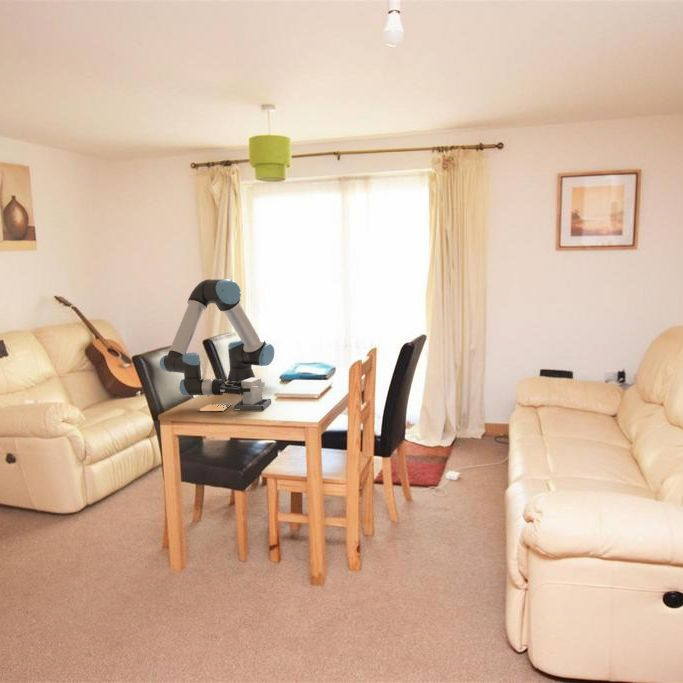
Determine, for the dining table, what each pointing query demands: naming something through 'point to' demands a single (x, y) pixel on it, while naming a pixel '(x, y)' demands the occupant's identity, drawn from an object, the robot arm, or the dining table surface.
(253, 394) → the small box
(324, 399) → the dining table surface
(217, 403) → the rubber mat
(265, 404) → the holding frame
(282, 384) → the dining table surface
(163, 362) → the robot arm
